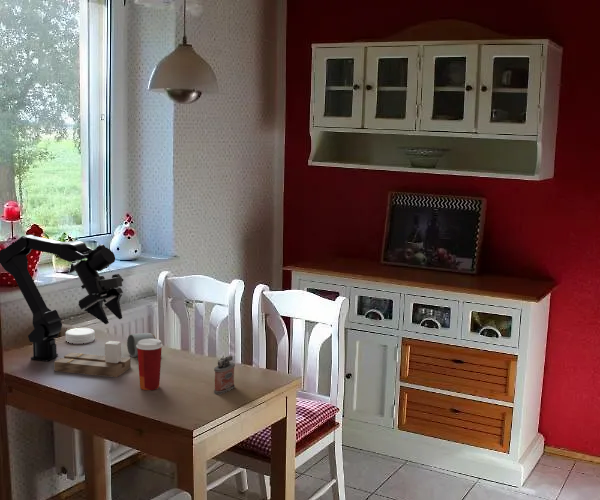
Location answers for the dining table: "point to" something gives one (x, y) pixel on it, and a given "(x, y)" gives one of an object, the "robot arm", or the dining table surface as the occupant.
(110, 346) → the fader tab
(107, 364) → the fader track
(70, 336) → the white bowl
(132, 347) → the ceramic mug
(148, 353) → the paper cup
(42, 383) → the dining table surface
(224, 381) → the lighter
